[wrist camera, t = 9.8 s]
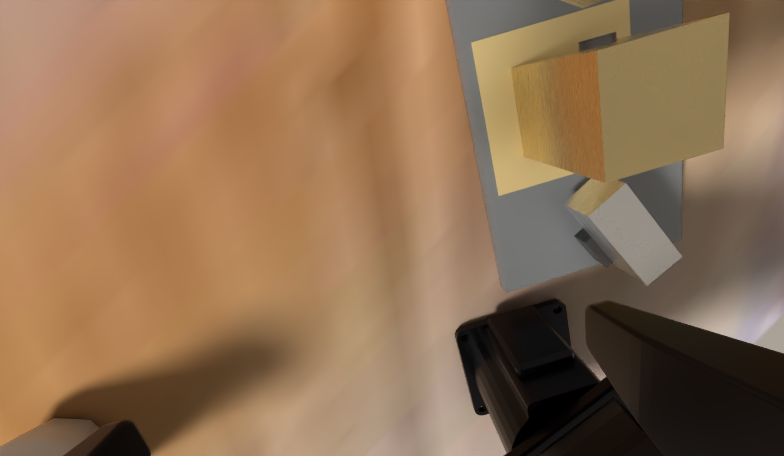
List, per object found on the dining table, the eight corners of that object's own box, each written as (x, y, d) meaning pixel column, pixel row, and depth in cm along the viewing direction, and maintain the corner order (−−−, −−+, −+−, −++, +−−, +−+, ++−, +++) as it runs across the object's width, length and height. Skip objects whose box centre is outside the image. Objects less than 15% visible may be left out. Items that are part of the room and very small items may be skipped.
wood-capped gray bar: (637, 250, 20) (684, 274, 17) (561, 273, 20) (596, 301, 17) (619, -160, 14) (687, -226, 11) (510, -129, 14) (551, -186, 11)
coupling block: (604, 139, 18) (722, 157, 12) (524, 162, 18) (606, 192, 12) (597, 35, 16) (730, 0, 10) (509, 61, 16) (595, 39, 10)
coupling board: (669, 234, 21) (683, 240, 20) (500, 285, 21) (507, 293, 20) (666, -170, 15) (685, -186, 14) (426, -100, 15) (431, -112, 14)
